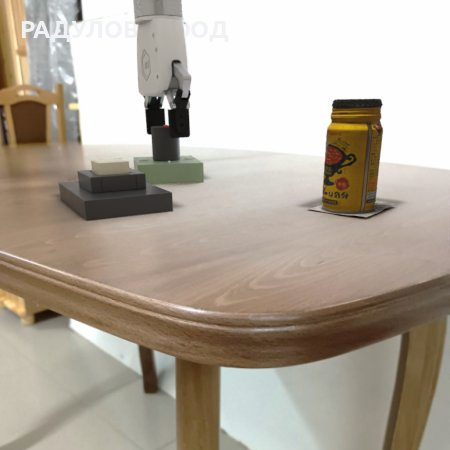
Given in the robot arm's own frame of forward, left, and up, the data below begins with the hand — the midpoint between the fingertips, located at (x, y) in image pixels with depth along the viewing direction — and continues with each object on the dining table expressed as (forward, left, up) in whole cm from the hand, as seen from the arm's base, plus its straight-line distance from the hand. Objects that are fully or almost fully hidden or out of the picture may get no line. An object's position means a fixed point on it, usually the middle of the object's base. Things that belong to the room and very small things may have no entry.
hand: (167, 135), depth 77 cm
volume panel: (0, 0, -7) cm, 7 cm away
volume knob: (0, 0, -4) cm, 4 cm away
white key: (+17, -14, -3) cm, 22 cm away
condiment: (+33, +10, -7) cm, 35 cm away
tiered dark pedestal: (+17, -14, -7) cm, 23 cm away
